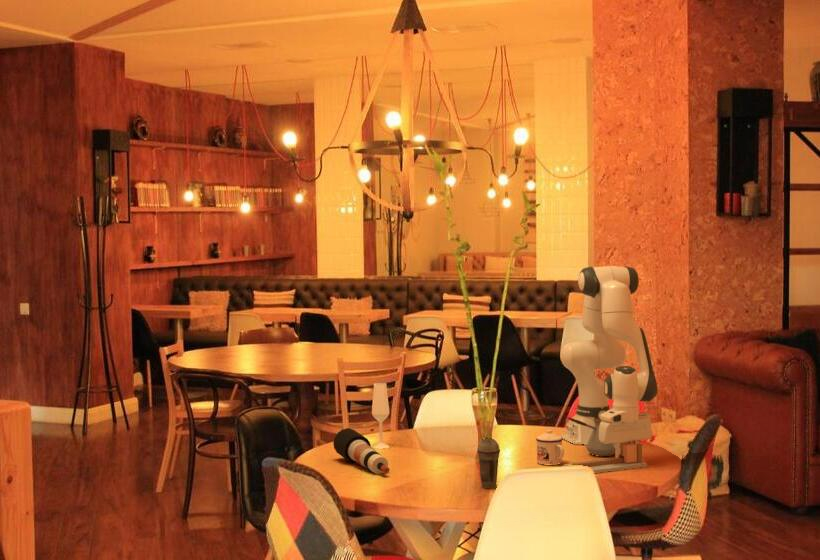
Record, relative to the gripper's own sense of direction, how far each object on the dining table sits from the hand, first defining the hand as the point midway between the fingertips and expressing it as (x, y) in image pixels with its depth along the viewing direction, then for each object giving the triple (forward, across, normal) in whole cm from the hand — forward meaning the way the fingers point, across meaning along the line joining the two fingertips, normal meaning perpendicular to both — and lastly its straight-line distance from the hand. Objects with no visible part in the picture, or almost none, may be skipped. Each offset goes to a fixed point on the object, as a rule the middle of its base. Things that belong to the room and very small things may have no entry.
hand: (625, 454), depth 360 cm
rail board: (+4, +9, 0) cm, 9 cm away
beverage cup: (+4, +57, +5) cm, 57 cm away
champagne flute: (+4, +63, -68) cm, 92 cm away
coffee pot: (+4, +3, -17) cm, 18 cm away
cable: (+4, +81, -39) cm, 90 cm away
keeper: (+2, 0, 0) cm, 2 cm away
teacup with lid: (+4, +22, -13) cm, 25 cm away
